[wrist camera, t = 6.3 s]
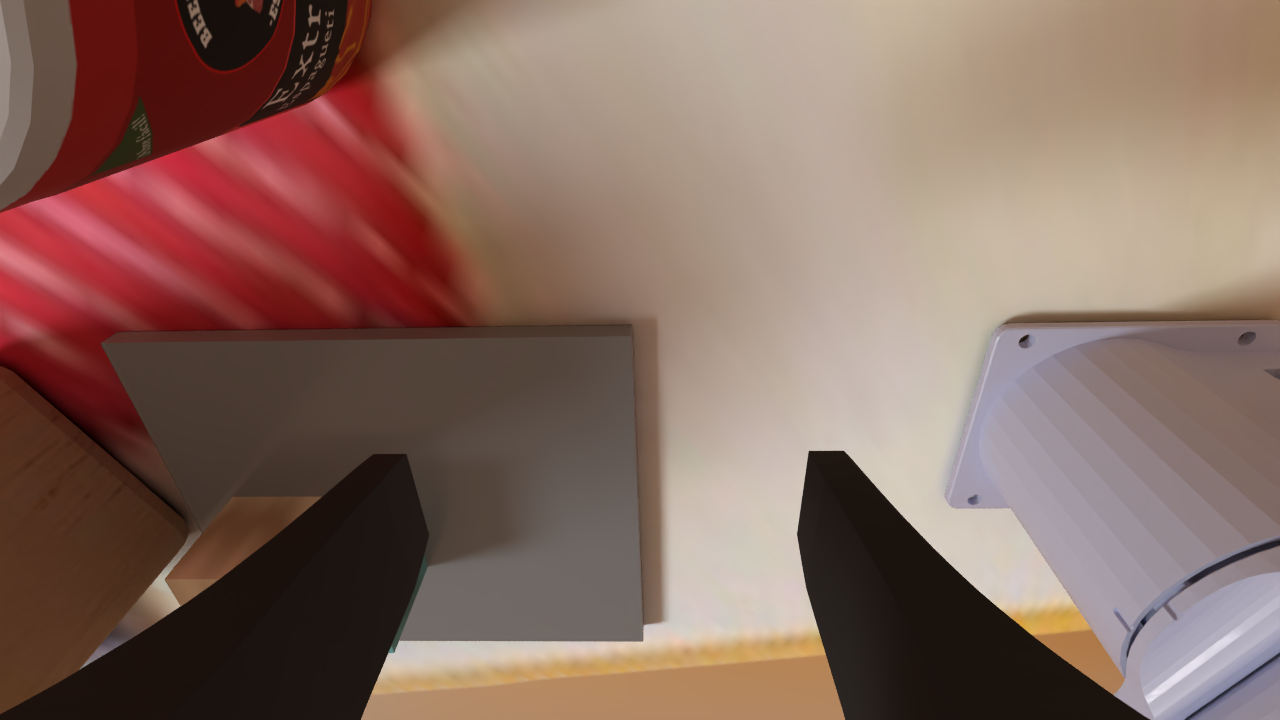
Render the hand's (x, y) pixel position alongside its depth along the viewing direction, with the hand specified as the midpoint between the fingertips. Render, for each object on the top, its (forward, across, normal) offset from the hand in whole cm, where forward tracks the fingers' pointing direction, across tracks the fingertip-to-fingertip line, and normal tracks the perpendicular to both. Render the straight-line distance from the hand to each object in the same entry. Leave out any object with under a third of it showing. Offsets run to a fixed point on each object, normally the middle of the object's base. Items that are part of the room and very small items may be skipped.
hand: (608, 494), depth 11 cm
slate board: (+10, +9, +10) cm, 17 cm away
